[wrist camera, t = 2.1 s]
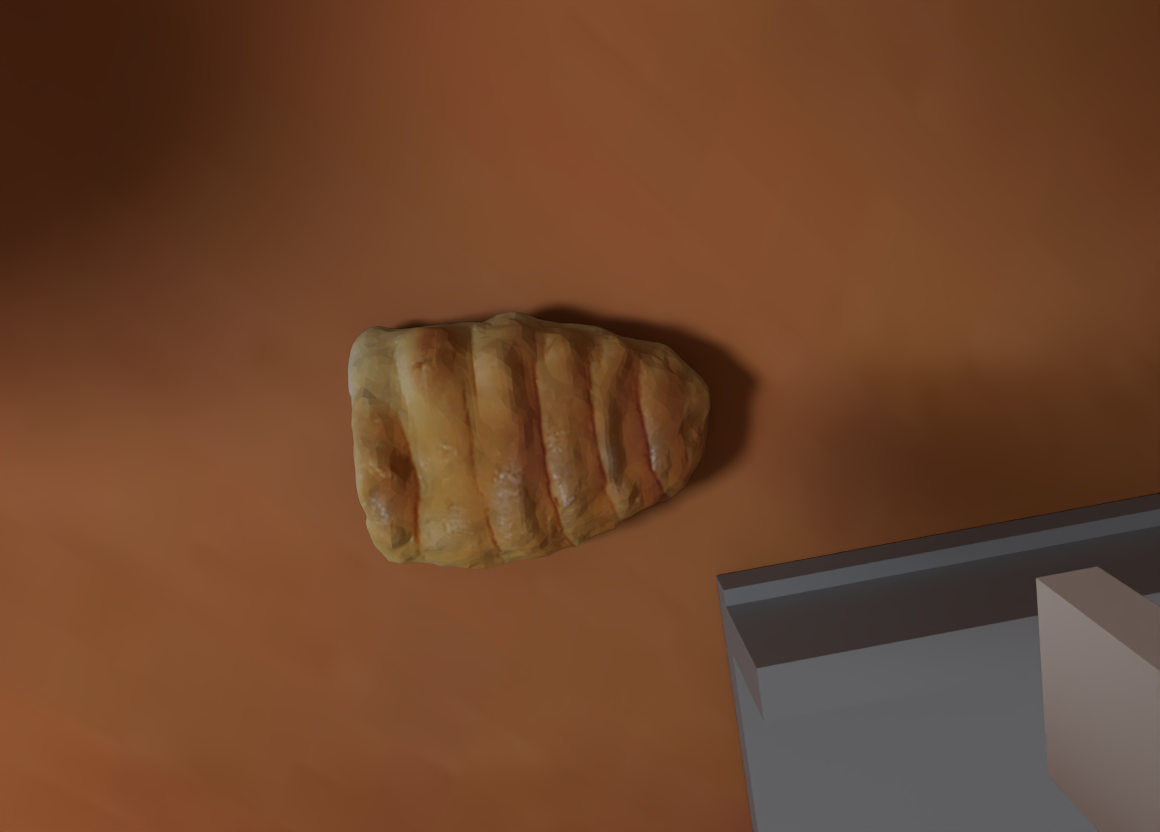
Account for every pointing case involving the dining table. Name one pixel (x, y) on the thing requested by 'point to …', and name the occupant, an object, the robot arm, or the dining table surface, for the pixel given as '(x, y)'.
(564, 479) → the pastry
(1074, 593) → the robot arm
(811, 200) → the dining table surface
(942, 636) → the tray
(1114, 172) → the dining table surface
